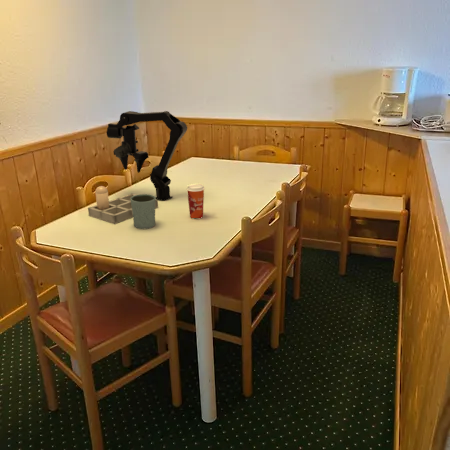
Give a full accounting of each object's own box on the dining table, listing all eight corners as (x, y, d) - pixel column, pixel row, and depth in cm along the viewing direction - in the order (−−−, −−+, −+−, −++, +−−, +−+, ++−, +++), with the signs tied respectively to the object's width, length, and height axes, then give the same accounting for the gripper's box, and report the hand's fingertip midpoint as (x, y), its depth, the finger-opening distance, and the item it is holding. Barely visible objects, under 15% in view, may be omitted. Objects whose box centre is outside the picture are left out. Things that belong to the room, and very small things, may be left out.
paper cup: (191, 221, 186) (190, 189, 181) (185, 215, 192) (183, 184, 187) (208, 217, 189) (207, 186, 184) (201, 212, 196) (200, 182, 191)
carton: (158, 207, 202) (157, 200, 201) (114, 224, 184) (113, 215, 182) (132, 200, 212) (131, 193, 211) (88, 215, 194) (87, 207, 192)
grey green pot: (135, 220, 187) (133, 193, 183) (159, 220, 187) (157, 193, 182) (130, 229, 178) (127, 201, 173) (155, 229, 177) (153, 201, 173)
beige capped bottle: (112, 211, 196) (109, 184, 191) (106, 215, 191) (103, 188, 187) (101, 210, 197) (98, 184, 192) (95, 214, 192) (92, 187, 188)
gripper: (103, 139, 207) (106, 171, 213) (130, 144, 197) (132, 177, 202) (121, 135, 215) (124, 166, 221) (148, 140, 205) (150, 172, 211)
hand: (132, 171), depth 214 cm, fingers open, 9 cm apart
